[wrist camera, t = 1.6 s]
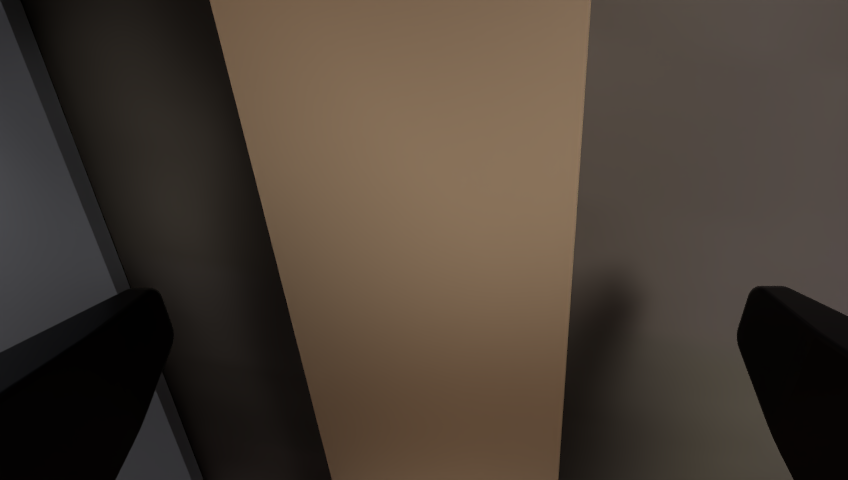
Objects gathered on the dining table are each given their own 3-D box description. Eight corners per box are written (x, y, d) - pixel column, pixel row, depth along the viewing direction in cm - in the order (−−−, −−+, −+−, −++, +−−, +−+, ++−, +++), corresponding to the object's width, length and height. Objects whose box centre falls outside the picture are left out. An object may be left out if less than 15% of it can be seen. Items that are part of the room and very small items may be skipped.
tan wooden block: (515, 471, 14) (541, 722, 9) (412, 471, 14) (392, 717, 10) (520, -266, 7) (631, -601, 2) (314, -242, 7) (79, -507, 3)
